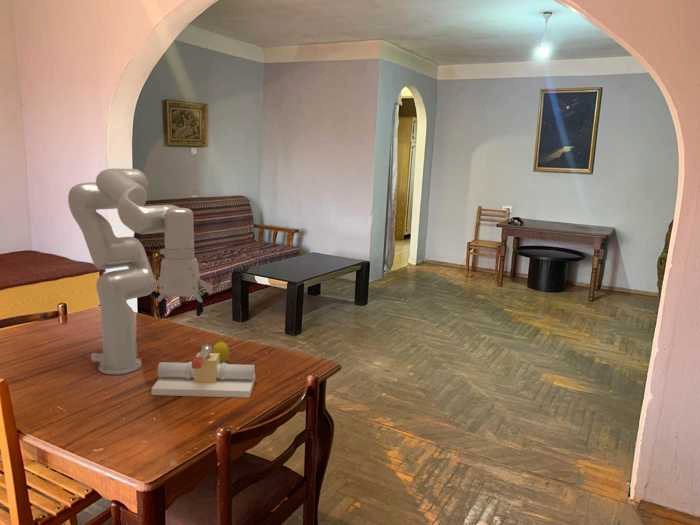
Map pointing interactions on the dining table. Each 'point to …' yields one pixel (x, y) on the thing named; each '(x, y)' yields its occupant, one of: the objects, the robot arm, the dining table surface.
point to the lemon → (221, 351)
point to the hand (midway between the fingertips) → (181, 314)
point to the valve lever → (201, 356)
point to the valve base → (203, 388)
